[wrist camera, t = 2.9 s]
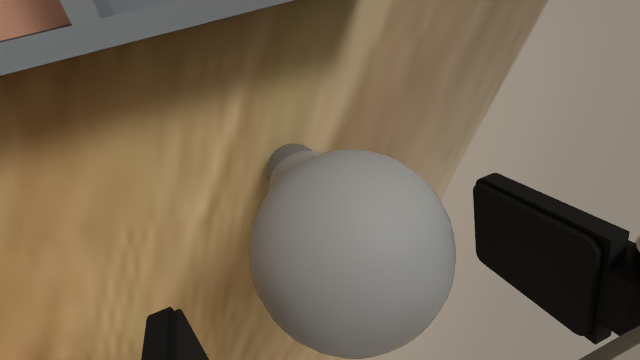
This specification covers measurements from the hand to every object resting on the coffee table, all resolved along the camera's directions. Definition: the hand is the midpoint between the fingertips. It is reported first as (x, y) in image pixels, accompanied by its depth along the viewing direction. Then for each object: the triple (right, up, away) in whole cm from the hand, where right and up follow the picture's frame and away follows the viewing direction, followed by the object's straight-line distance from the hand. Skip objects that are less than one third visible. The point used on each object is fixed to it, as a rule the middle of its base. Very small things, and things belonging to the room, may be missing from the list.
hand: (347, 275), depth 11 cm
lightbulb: (-2, +4, +8) cm, 9 cm away
